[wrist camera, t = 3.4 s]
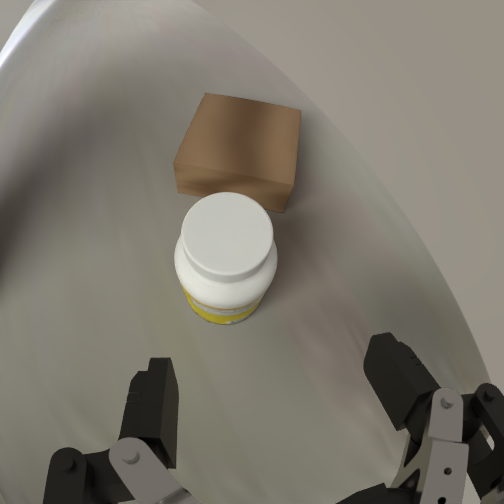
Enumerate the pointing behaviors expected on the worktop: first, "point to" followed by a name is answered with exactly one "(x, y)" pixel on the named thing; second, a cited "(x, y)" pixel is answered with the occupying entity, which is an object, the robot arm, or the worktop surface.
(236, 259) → the supplement bottle
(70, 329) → the worktop surface
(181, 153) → the walnut block
